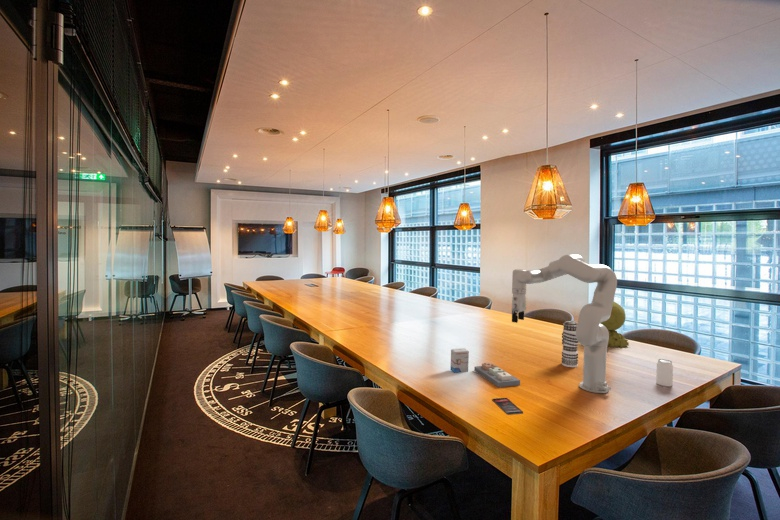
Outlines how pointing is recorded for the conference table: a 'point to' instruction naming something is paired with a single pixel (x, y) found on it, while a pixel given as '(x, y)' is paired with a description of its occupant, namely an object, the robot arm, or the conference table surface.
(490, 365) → the tile three
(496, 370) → the tile two
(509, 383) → the console
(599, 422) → the conference table surface
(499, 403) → the smartphone
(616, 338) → the trophy
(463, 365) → the ink box
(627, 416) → the conference table surface
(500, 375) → the tile one
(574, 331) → the leaning tower model
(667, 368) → the can
